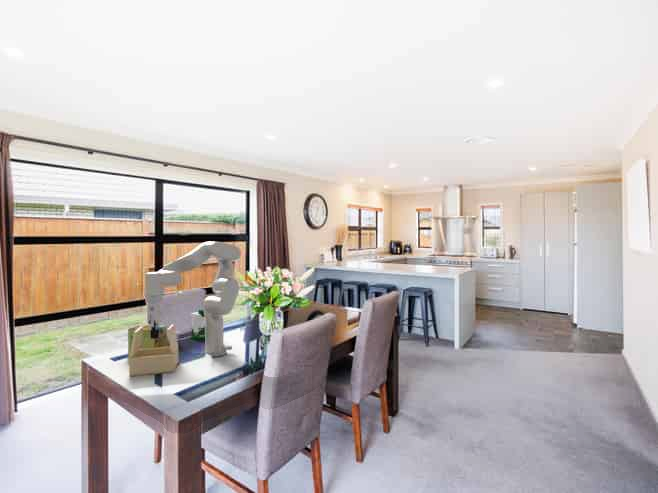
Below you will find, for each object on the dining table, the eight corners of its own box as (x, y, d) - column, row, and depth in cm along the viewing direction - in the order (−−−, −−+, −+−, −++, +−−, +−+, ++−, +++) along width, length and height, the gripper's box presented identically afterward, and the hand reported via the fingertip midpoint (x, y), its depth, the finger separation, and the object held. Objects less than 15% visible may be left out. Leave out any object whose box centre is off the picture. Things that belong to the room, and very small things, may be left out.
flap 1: (139, 349, 166) (143, 326, 166) (132, 356, 154) (136, 332, 154) (137, 349, 165) (141, 326, 166) (129, 356, 154) (134, 331, 154)
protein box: (154, 360, 174) (153, 329, 174) (127, 359, 177) (127, 328, 177) (167, 354, 185) (167, 325, 185) (142, 352, 188) (142, 324, 188)
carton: (178, 362, 171) (178, 346, 171) (173, 372, 157) (173, 354, 157) (138, 366, 166) (137, 349, 166) (129, 376, 153) (129, 358, 153)
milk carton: (198, 344, 212) (198, 311, 212) (188, 342, 217) (188, 310, 217) (209, 341, 220) (210, 309, 220) (199, 339, 224) (200, 308, 224)
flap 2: (178, 345, 170) (173, 324, 170) (174, 353, 158) (169, 329, 158) (176, 346, 170) (171, 324, 169) (171, 353, 158) (166, 330, 158)
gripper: (159, 300, 156) (160, 341, 156) (166, 296, 170) (166, 333, 170) (141, 301, 154) (141, 342, 154) (149, 296, 168) (149, 334, 168)
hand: (154, 337), depth 162 cm, fingers closed
